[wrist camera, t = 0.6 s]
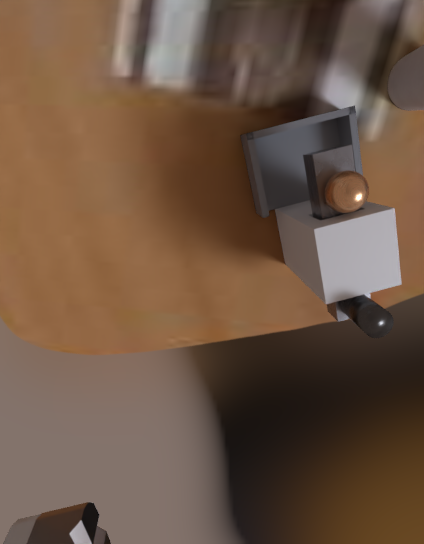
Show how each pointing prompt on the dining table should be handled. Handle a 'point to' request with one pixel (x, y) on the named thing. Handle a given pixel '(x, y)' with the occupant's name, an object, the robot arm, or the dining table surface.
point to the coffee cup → (408, 81)
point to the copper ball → (346, 191)
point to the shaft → (318, 174)
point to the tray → (294, 156)
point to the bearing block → (341, 250)
